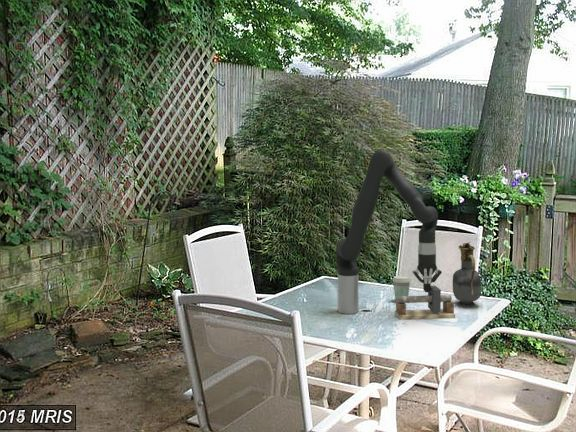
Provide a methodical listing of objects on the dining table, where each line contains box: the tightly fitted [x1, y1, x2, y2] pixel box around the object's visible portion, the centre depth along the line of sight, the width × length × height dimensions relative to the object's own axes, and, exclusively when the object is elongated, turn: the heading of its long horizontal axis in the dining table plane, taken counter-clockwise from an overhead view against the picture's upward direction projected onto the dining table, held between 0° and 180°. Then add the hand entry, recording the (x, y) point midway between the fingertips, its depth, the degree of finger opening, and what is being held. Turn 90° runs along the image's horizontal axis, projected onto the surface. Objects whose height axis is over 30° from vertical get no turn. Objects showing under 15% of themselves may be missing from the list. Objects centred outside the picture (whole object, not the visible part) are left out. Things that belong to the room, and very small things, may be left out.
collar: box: [427, 284, 442, 312], centre depth 269 cm, size 3×9×10 cm, turn 3°
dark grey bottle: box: [452, 241, 482, 307], centre depth 284 cm, size 11×19×30 cm, turn 0°
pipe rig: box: [394, 294, 456, 321], centre depth 269 cm, size 24×10×9 cm, turn 92°
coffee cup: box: [392, 275, 411, 303], centre depth 295 cm, size 8×8×12 cm
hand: (427, 291), depth 268 cm, fingers closed
